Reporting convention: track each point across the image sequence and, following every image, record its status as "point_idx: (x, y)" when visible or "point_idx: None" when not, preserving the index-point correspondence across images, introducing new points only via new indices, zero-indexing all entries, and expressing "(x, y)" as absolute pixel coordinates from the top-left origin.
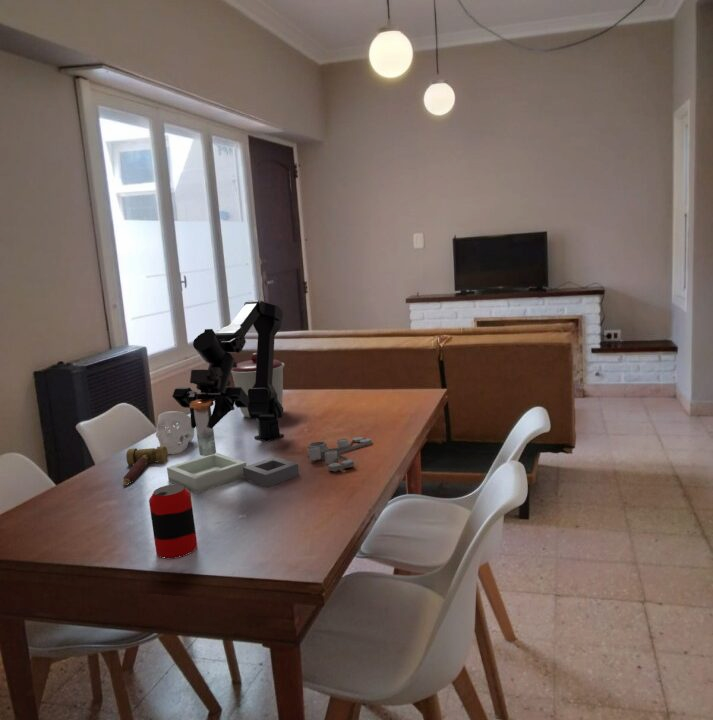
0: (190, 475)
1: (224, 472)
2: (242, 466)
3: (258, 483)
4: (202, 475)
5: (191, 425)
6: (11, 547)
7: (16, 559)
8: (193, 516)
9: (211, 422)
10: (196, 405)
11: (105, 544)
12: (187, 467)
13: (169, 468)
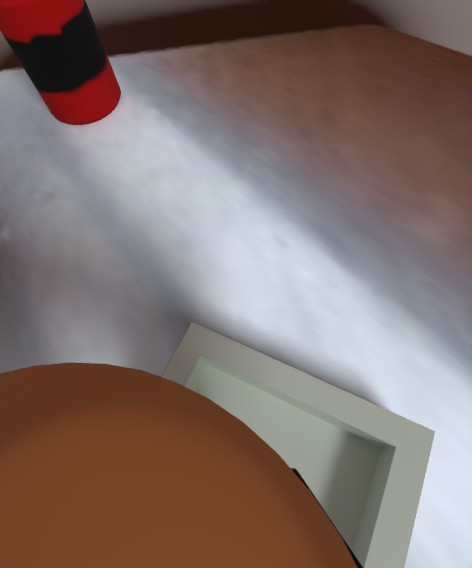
0: (236, 352)
1: None
2: None
3: None
4: (183, 361)
5: (293, 470)
6: (415, 42)
7: (355, 26)
8: (17, 57)
9: None
10: (41, 375)
11: (239, 86)
12: (371, 513)
13: (408, 420)
